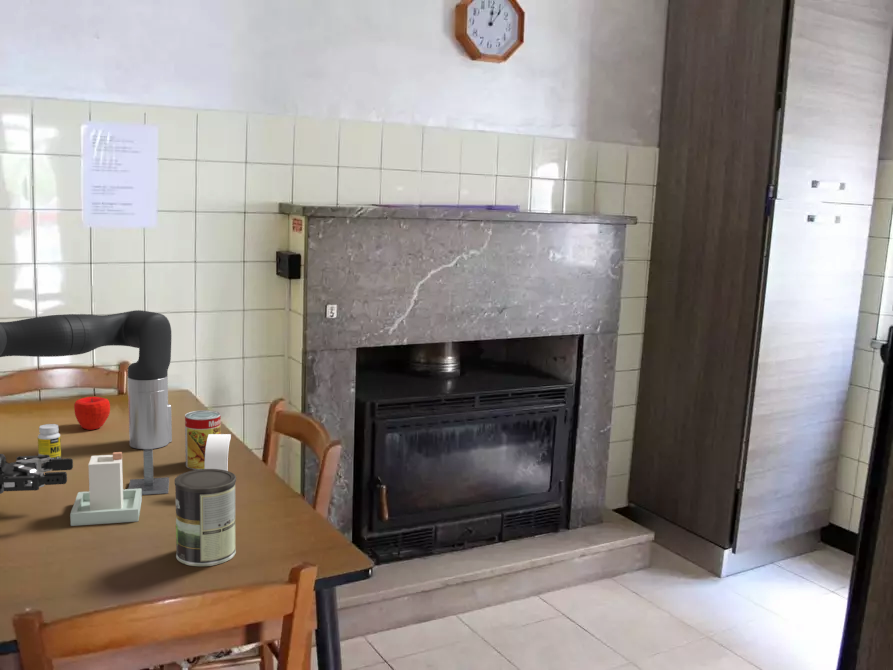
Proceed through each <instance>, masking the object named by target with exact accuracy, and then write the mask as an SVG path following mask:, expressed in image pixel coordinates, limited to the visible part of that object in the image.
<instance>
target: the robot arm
mask: <svg viewBox="0 0 893 670" xmlns="http://www.w3.org/2000/svg"><path fill="white" fill-rule="evenodd" d="M106 346H107V347H108V346H112V347H113V346H118V347H119V346H120V347H130V348H131V347H132V348H136V349H138V360H137V361H136V362H133V363H130V364H129V365H128V366H127V396H128V429H129V430H128V434H129V446H130V448H133V449H137V450H144V449H153V450H154V449H160V448H163V447H166V446H167V445H169V443H172V442H173V433H172V432H173V428H172V427H173V426H172V425H173V424H172V422H173V421H172V405H171V404H170V403H169V385H168V383H169V382H168V381H169V380H168V371H169V369H170V368H169V367H170V365H171V360H172V327H171V323H170V320H169V319H168V318H167V316H165V315H164V313H163V314H162V313H160V312H154V311H149V310H141V309H140V310H139V309H138V310H136V309H135V310H129V311H124V312H118V313H113V314H107V315H104V314H102V315H98V314H88V313H80V314H79V313H78V314H77V313H75V314H74V313H70V314H69V313H68V314H53V315H44V316H38V317H30V318H24V319H19V320H12V321H1V322H0V358H2V357H3V358H4V357H36V358H37V357H42V358H43V357H46V358H47V357H55V358H56V357H66V356H68V357H69V356H78V355H82V354H86V353H89V352H92V351H95V350H96V349H99V348H101V347H106ZM15 458H16V459H15V460H16V461H14V462H13V461H12V462H8V461H7V458H6V456H5V454H4V453H0V495H2V494H4V492H23V491H25V492H26V491H27V492H28V491H39V489H40V488H43V487H45V486H51V485H52V486H53V485H55V486H56V485H65V484H67V482H68V473H67V471H71V470H73V468H74V459H73V458H71V457H68V458H67V457H66V458H61V459H52V458H50V455H23V456H22V455H21V456H20V455H19V456H16V457H15ZM42 463H43V464H42Z"/></svg>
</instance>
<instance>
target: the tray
mask: <svg viewBox="0 0 893 670" xmlns="http://www.w3.org/2000/svg"><path fill="white" fill-rule="evenodd" d="M142 497H143V495H142V488H138V489H128V488H127V489H126V488H125V489H124V488H123V506H122V509H108V510H93V511H90V495H89V490H88V491H78V492H77V494H76V497H75V500H74V503H73V506H72V508H71V510H70V515H69V517H70V519H69V520H70V526H71V527H74V526H89V525H90V526H91V525H102V524H103V525H105V524H117V523H118V524H119V523H133V522H139V519H140V514H141V508H142V500H143V498H142Z"/></svg>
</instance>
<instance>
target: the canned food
mask: <svg viewBox="0 0 893 670" xmlns="http://www.w3.org/2000/svg"><path fill="white" fill-rule="evenodd" d="M221 423H222V422H221V413H220V412H219V411H216V410H211V409H209V410H207V409H203V410H202V409H201V410H194V411H190V412H187V413H185V414H184V427H185V429H184V430H185V431H184V432H185V433H184V434H185V436H184V437H185V439H184V440H185V446H184V447H185V467H186V468H187V469H189V470H192V471H193V470H200V469H205V450H206V443H207V438H208V435H209V434H222V432H221V431H222V429H221V428H222V427H221V426H222V425H221Z"/></svg>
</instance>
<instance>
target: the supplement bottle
mask: <svg viewBox="0 0 893 670" xmlns="http://www.w3.org/2000/svg"><path fill="white" fill-rule="evenodd" d="M38 428H39V429H38V430H39V431H38V432H39V434H38V435H37V447H38V448H37V451H38V455H50V458H52V459H62V445H61V440H62V439H61V433H59V431H60V430H59V425H58V424H55V423H46V424H42V425H41V424H40V426H39V427H38ZM41 465H43V463H42V464H41Z"/></svg>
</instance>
